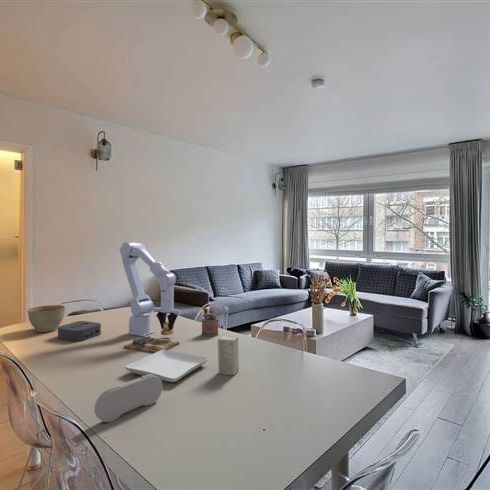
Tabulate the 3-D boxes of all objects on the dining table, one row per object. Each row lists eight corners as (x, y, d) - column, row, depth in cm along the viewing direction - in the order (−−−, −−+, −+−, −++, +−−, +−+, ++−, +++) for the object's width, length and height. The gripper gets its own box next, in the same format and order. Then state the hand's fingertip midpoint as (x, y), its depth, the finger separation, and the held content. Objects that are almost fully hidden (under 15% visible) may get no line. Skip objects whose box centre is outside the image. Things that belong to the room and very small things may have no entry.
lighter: (218, 334, 170) (219, 313, 170) (217, 336, 166) (217, 314, 166) (202, 333, 171) (202, 312, 170) (200, 335, 167) (200, 314, 167)
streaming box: (80, 330, 174) (80, 320, 174) (103, 334, 169) (103, 323, 169) (55, 338, 161) (54, 327, 161) (78, 343, 155) (78, 331, 155)
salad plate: (209, 365, 130) (209, 356, 130) (175, 388, 111) (175, 377, 111) (163, 356, 139) (163, 348, 139) (123, 376, 120) (123, 366, 120)
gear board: (124, 347, 148) (124, 342, 148) (146, 338, 161) (146, 333, 161) (159, 354, 141) (159, 348, 141) (179, 344, 154) (179, 338, 154)
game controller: (158, 397, 104) (158, 369, 104) (162, 400, 103) (162, 371, 103) (93, 424, 90) (93, 392, 89) (98, 427, 88) (98, 394, 88)
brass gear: (158, 334, 161) (158, 323, 161) (165, 331, 166) (165, 320, 166) (168, 336, 159) (168, 324, 159) (175, 332, 164) (175, 322, 164)
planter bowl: (72, 328, 177) (72, 307, 176) (38, 336, 163) (38, 313, 163) (54, 324, 185) (53, 303, 185) (21, 331, 172) (20, 309, 171)
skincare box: (238, 371, 125) (239, 336, 124) (234, 375, 120) (234, 340, 120) (222, 368, 127) (222, 334, 126) (217, 373, 122) (217, 338, 122)
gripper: (148, 299, 161) (148, 329, 162) (175, 302, 155) (175, 333, 156) (158, 297, 168) (158, 325, 168) (184, 299, 162) (184, 329, 162)
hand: (167, 329), depth 163 cm, fingers closed on brass gear, 4 cm apart
